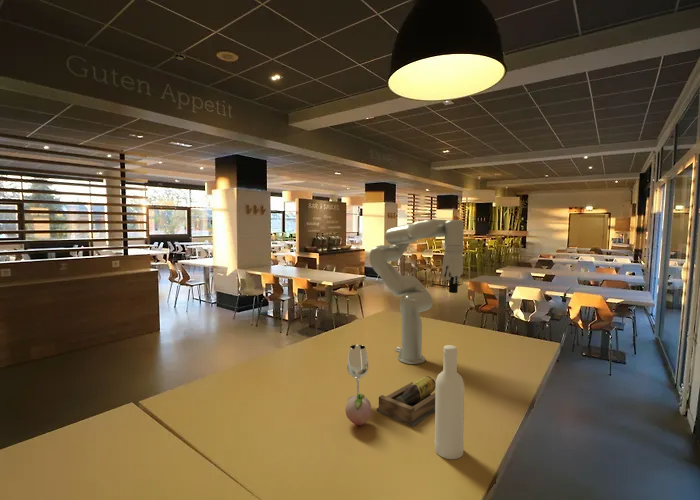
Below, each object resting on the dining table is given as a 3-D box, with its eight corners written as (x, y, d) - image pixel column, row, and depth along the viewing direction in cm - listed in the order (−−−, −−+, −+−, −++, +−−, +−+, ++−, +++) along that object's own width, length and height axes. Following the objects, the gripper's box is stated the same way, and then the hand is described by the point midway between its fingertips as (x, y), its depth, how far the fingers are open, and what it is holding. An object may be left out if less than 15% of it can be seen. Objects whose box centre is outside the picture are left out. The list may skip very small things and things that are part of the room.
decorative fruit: (346, 417, 124) (346, 388, 123) (370, 417, 124) (370, 388, 123) (344, 432, 114) (344, 401, 114) (371, 433, 114) (371, 401, 114)
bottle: (430, 443, 109) (432, 342, 107) (457, 442, 109) (458, 341, 107) (439, 460, 101) (441, 352, 99) (468, 459, 101) (469, 351, 99)
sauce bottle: (436, 393, 139) (408, 417, 124) (422, 388, 143) (392, 410, 128) (437, 377, 138) (408, 398, 123) (422, 371, 142) (393, 392, 127)
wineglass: (371, 397, 138) (371, 344, 136) (365, 407, 130) (364, 351, 129) (351, 394, 140) (350, 342, 139) (344, 404, 133) (343, 349, 132)
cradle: (376, 410, 128) (376, 396, 128) (412, 389, 144) (412, 376, 144) (413, 426, 118) (413, 410, 117) (447, 402, 134) (447, 388, 133)
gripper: (454, 248, 164) (453, 289, 166) (436, 249, 153) (436, 293, 155) (470, 248, 159) (469, 291, 160) (453, 250, 148) (452, 296, 150)
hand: (453, 292), depth 158 cm, fingers closed
